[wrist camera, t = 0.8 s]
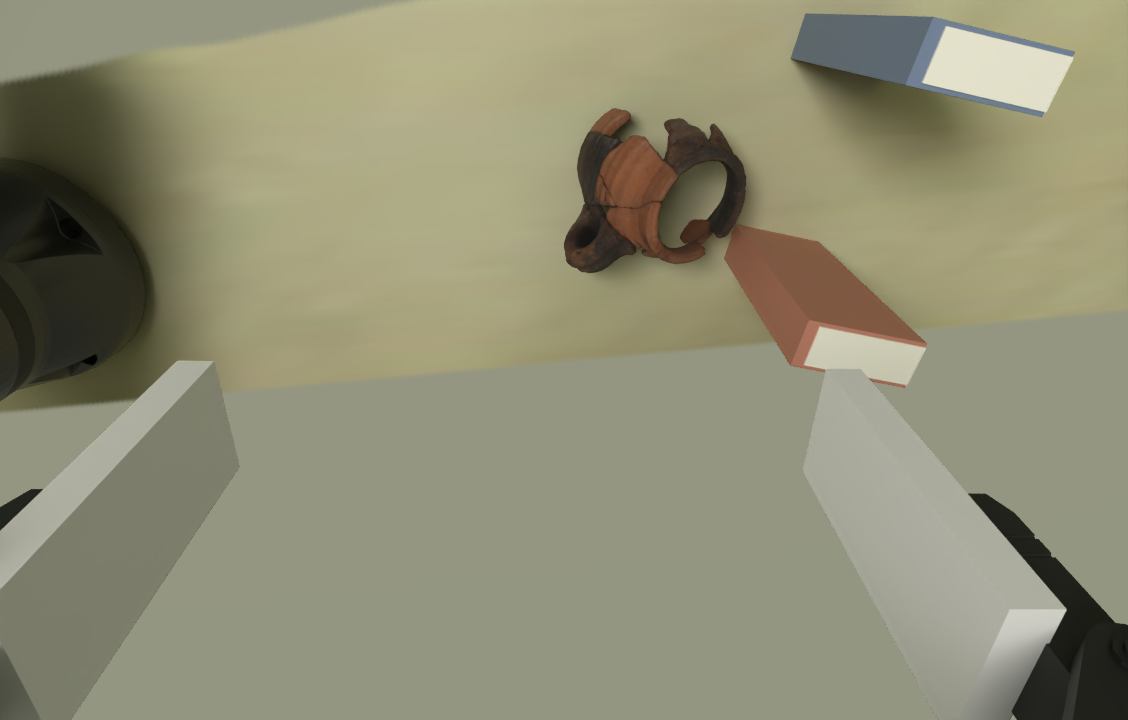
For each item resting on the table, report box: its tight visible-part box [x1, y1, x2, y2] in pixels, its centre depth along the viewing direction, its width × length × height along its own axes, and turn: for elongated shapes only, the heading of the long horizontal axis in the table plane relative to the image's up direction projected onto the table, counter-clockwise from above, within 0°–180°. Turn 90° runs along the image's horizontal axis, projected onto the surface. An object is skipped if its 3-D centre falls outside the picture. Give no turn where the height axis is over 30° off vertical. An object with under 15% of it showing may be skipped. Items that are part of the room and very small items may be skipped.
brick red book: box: [724, 225, 927, 388], centre depth 40 cm, size 6×2×16 cm, turn 78°
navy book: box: [791, 14, 1075, 117], centre depth 34 cm, size 6×2×16 cm, turn 78°
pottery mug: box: [564, 108, 746, 273], centre depth 43 cm, size 12×9×8 cm
